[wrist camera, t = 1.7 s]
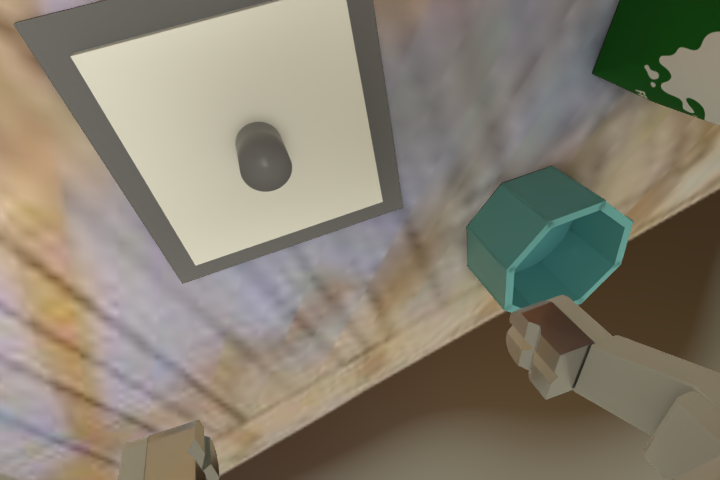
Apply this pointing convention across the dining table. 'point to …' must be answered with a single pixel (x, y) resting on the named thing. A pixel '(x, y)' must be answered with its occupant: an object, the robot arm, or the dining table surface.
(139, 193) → the rubber mat
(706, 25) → the milk carton
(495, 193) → the teal octagonal bowl
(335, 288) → the dining table surface
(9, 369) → the dining table surface
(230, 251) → the cover board
